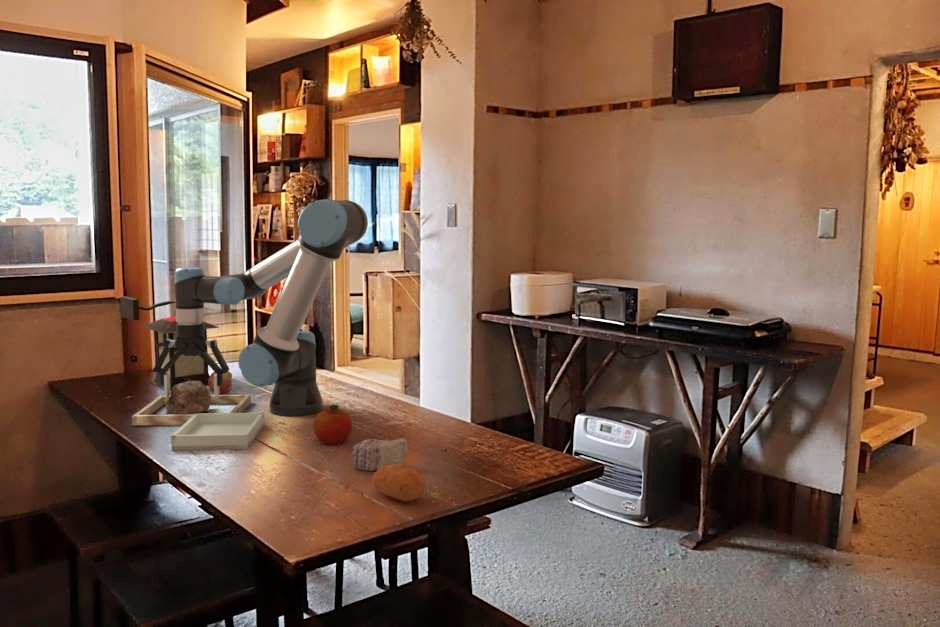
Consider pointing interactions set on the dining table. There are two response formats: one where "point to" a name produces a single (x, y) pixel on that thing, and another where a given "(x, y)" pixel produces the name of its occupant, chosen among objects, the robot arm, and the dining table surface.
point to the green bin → (218, 431)
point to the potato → (399, 482)
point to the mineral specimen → (379, 453)
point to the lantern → (166, 329)
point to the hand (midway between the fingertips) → (192, 397)
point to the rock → (188, 398)
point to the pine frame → (147, 419)
